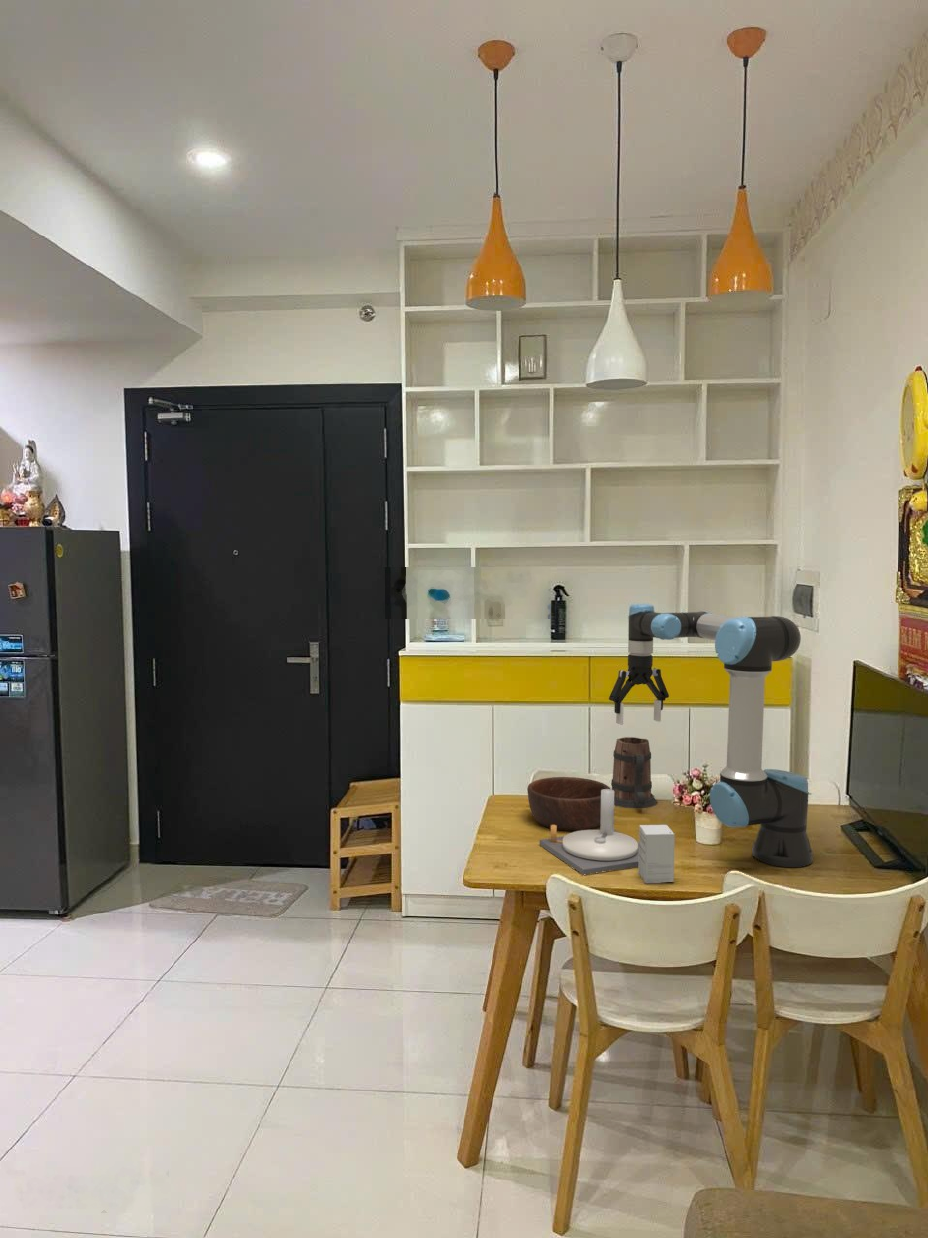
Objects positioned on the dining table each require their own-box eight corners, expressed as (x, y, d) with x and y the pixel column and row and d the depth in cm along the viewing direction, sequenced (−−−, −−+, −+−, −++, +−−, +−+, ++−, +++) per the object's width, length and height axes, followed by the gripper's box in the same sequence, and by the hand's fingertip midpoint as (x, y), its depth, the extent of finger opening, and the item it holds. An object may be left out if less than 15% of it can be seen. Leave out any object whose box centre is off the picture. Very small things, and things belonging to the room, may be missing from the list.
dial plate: (663, 863, 231) (664, 840, 231) (583, 875, 222) (583, 852, 222) (614, 834, 253) (614, 814, 253) (539, 845, 244) (539, 823, 244)
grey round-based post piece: (629, 865, 225) (630, 813, 223) (553, 854, 232) (554, 803, 231) (644, 841, 243) (645, 792, 242) (573, 831, 251) (574, 784, 249)
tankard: (600, 793, 295) (601, 734, 293) (650, 793, 296) (652, 734, 294) (614, 815, 272) (615, 751, 270) (668, 815, 272) (670, 751, 271)
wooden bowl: (617, 835, 253) (618, 800, 253) (530, 834, 253) (530, 799, 252) (603, 808, 278) (604, 776, 277) (523, 808, 278) (524, 776, 277)
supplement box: (666, 872, 225) (667, 824, 224) (674, 884, 217) (675, 833, 216) (637, 872, 224) (638, 824, 223) (644, 884, 217) (645, 834, 216)
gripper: (667, 651, 280) (665, 717, 282) (598, 654, 271) (597, 722, 272) (681, 654, 273) (679, 721, 275) (611, 657, 264) (610, 727, 266)
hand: (638, 722), depth 274 cm, fingers open, 13 cm apart
